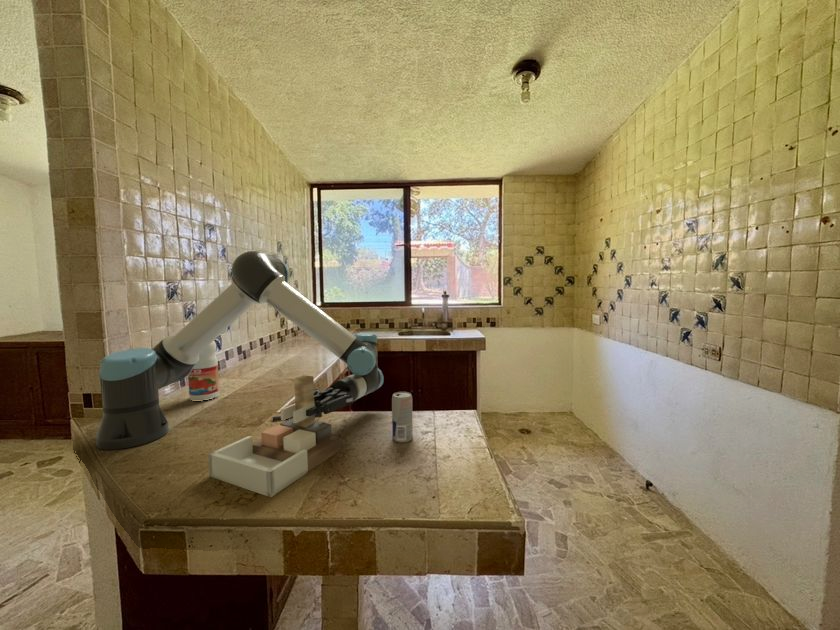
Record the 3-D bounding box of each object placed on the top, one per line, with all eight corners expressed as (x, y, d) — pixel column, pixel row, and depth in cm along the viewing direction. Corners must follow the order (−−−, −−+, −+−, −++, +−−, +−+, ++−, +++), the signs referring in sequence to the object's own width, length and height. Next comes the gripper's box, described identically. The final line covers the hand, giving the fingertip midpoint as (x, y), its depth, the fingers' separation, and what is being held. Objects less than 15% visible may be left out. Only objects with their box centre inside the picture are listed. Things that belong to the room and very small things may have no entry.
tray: (209, 476, 74) (208, 454, 74) (250, 456, 83) (249, 435, 83) (270, 497, 66) (269, 472, 66) (307, 472, 75) (307, 450, 75)
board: (250, 456, 83) (249, 443, 83) (288, 436, 94) (287, 425, 94) (307, 472, 75) (307, 458, 75) (342, 449, 86) (341, 437, 86)
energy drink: (399, 432, 96) (399, 390, 95) (416, 437, 93) (416, 393, 92) (388, 440, 91) (387, 395, 90) (405, 444, 88) (404, 399, 88)
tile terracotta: (261, 444, 82) (261, 432, 82) (278, 436, 87) (278, 424, 87) (277, 448, 80) (276, 435, 80) (293, 439, 85) (293, 428, 85)
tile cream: (283, 450, 79) (283, 437, 79) (299, 441, 84) (299, 429, 84) (300, 454, 77) (299, 441, 77) (315, 445, 82) (315, 432, 82)
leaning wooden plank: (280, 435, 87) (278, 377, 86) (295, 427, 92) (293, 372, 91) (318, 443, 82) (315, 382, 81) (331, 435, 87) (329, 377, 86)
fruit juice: (224, 393, 133) (220, 321, 131) (211, 401, 123) (207, 323, 121) (198, 394, 132) (194, 321, 130) (183, 402, 123) (179, 324, 120)
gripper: (371, 405, 100) (315, 437, 79) (326, 398, 107) (263, 426, 85) (371, 380, 99) (314, 405, 78) (326, 374, 106) (262, 396, 85)
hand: (288, 416), depth 82 cm, fingers closed on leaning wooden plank, 3 cm apart
